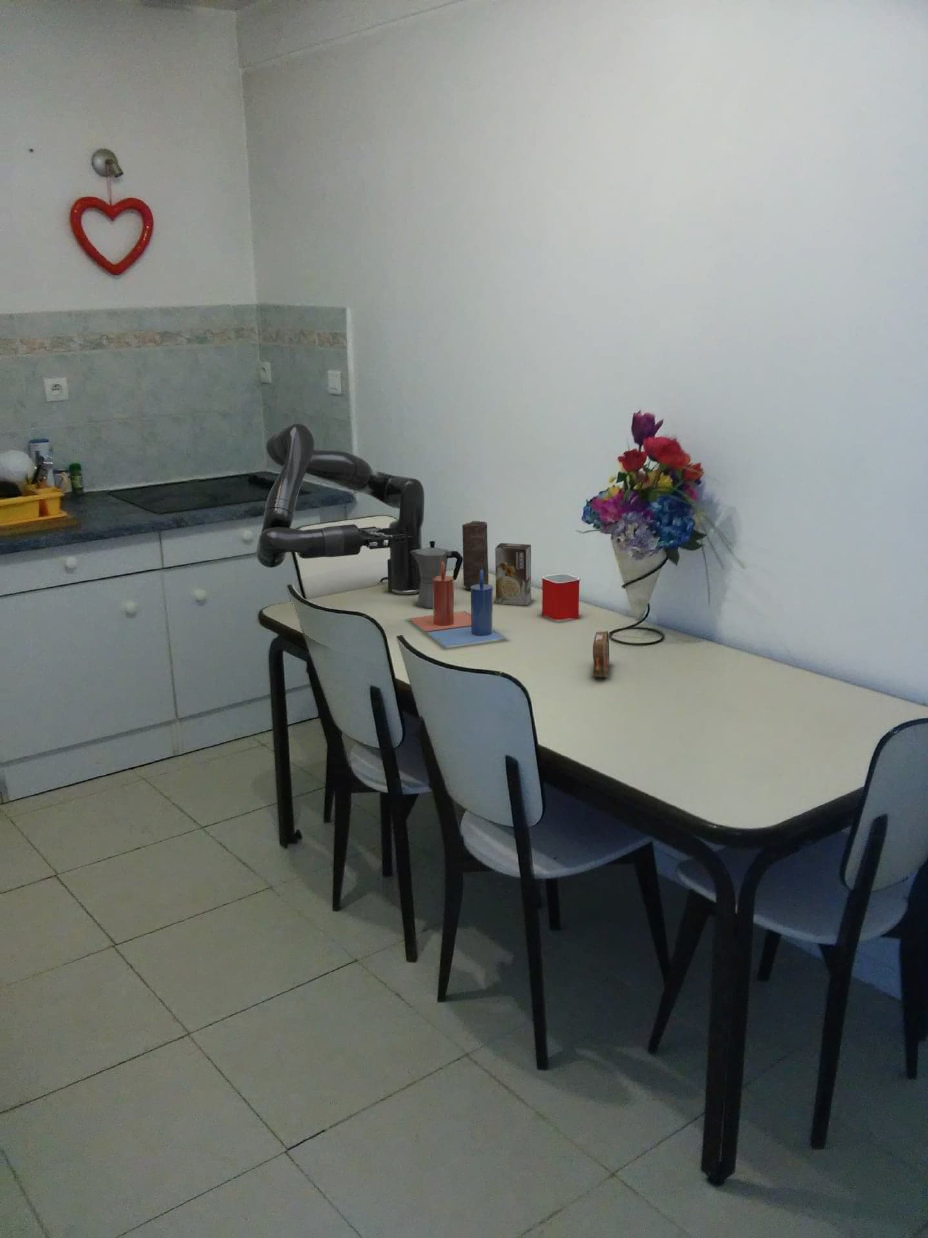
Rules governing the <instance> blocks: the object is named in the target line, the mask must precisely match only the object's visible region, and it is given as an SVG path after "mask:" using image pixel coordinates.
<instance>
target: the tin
mask: <svg viewBox="0 0 928 1238" xmlns="http://www.w3.org/2000/svg"><path fill="white" fill-rule="evenodd" d="M609 638H610V637H609V631H608V630H606V631H596V632H595V635H594V639H593V643H592V659H593V677H594V678H604V679H605V678H607V677H608V671H609V667H610V639H609Z"/></svg>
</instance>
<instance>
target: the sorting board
mask: <svg viewBox="0 0 928 1238" xmlns="http://www.w3.org/2000/svg"><path fill="white" fill-rule="evenodd" d="M408 619H409V620H410V621H412V622H413V623H414V624H415V625H416V626H418V627H419V628H421V629H422V630H423V631H424V632H425V633H426V634H428V635H430V636H431V638H433V639H435V640H436V641H437V642H439V644H441V645H442V646H444V647H445V648H447V647H448V648H449V647H453V646H461V645H469V644H476V643H482V642H483V643H484V642H491V641H497V640H504V639H506V638H505V637H504V636H502V635H501V634H500V633H498V632H496V631H495V630H493V633H492V634H491V635H487V636H476V635H473V634H472V633H471V614H470V613H468V612H467V611H456V612H455V611H454V624H452V625H448V626H439V625H435V624H434V623H433V614H432V615H425V616H416V617H410V618H408Z"/></svg>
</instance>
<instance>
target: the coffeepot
mask: <svg viewBox="0 0 928 1238" xmlns="http://www.w3.org/2000/svg"><path fill="white" fill-rule="evenodd" d="M435 545H436V541H435V540H430V541H429V547H425V548H422V549H417V550H412V551H411V552H410V553H411V554H412V555H413V556H414V558H415V560H416V561H417V563H418V566H419V572H420V576H421V583H420V591H419V593H418V597H417V598H418V599H417V606H418V607H420V608H423V609H432V610H433V577H436V576H441V562H442V561H443V562H444V563H445V576H447V567H448V560H449V559H454V558H455V559H456V561H455V565H454V569H453V571H452V572H453V575H452V576H451V577H453V578H454V581H456V580H457V579H458V576H459V573H460V570H461V567H462V565H463V555H461V553H460V552H459V551H458V550H448V549H446V548H440V547H436V546H435Z"/></svg>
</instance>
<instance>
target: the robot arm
mask: <svg viewBox="0 0 928 1238" xmlns="http://www.w3.org/2000/svg"><path fill="white" fill-rule="evenodd" d="M315 440H316V439H315V436H314V434H313V432H312V430H311V429H310V428H309V427H308V426H307V425H306V424H304V423H301V422H296V423H295V422H294V423H292V424H290V425H287V426H285V427H284V428H282V429H280V430H278V431H277V432H275V433H273V434H272V435H271V436H270V437H269V438H268V439H267V440H266V443H265V450H266V453H267V455H268V456H269V458H270V459H271V460H272V461H273V462H274V463H275V464H277V465H278V466H280V467H282V469H281V470H280V473H279V474H278V476H277V478H276V480H275V482H274V483H273V485H272V486H271V488H270V491H269V493H268V496H267V499H266V503H265V508H264V512H263V522H262V528H261V531H260V535H259V536H258V541H257V547H256V552H255V553H256V558H257V560H258V562H259V563H260V565H262V566H264V567H266V568H268V569H269V568H270V569H271V568H272V569H273V568H277V567H279V566H280V565H281V564H282V563H283V562H284V561H285V559H286V555H287V553H296V554H297V556H298V557H299V558H300V559H304V560H305V559H306V560H307V559H309V560H310V559H318V558H338V557H347V556H348V557H349V556H357V555H359V554H360V553H361V550H362V548H363V547H366V548H369V550H378V549H379V550H380V549H389V558H388V559H387V562H386V563H387V576H384V577H382V578H380V580H379V583H383V582H384V581H385V580H386V581H387V592H391V593H392V594H396V595H416V594H419V591H420V583H421V576H420V572H419V566H418V563H417V561H416V560H415V558H414V556H413V555H412V554H411V553H410V552H411V551H412V550H417V549H423V546H422V545H423V544H422V543H423V541H422V539H423V538H422V527H423V524H424V521H425V488H424V485H423V484H422V482H421V481H420V480H419V479H417V478H414V477H408V476H402V475H394V474H389V473H386V472H382V471H380V470H378V469H376V468H375V467H373V466H372V464H371V463H370V462H368V461H367V460H366V459H364V458H363V457H361V456H358V455H356V454H353V453H352V452H348V451H345V450H338V449H316V448H315V447H316V441H315ZM306 474H308V475H311V476H314V477H316V478H319V479H322V480H324V481H327V482H330V483H332V484H334V485H336V486H339V487H342V488H344V489H346V490H349V491H352V492H356V493H359V494H364V495H368V496H370V497H372V498H374V499H376V500H378V501H380V502H381V503H383V504H385V505H386V506H389V507H390V508H393V509H398V510H399V513H398V518H397V520H393V521H392V522H390V523H389V524H388V527H383V528H381V527H377V526H375V525H374V526H369V527H368V526H366V527H358V526H357V524H355V523H353V524H343V525H332V526H331V525H330V526H325V527H321V528H310V529H298V528H292V525H293V521H294V517H295V516H294V515H295V511H296V506H297V505H296V504H297V500H298V497H299V493H300V490H301V486H302V483H303V481H304V479H305V475H306ZM386 541H387V542H386Z"/></svg>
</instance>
